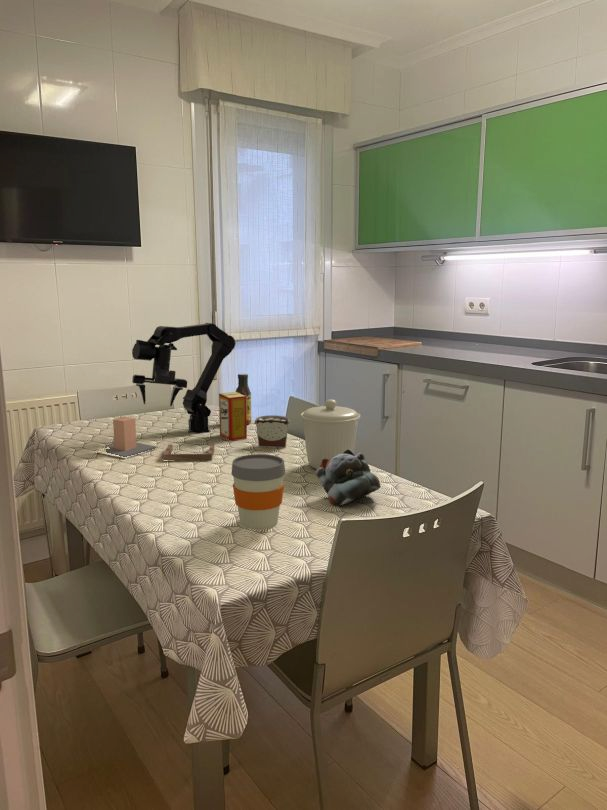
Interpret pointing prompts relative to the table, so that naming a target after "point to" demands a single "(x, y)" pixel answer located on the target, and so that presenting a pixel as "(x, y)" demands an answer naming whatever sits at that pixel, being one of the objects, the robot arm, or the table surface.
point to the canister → (329, 431)
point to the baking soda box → (233, 416)
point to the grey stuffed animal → (346, 478)
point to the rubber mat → (130, 452)
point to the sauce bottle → (245, 393)
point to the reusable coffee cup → (258, 489)
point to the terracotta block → (124, 433)
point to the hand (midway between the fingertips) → (157, 405)
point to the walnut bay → (188, 455)
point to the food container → (272, 431)
